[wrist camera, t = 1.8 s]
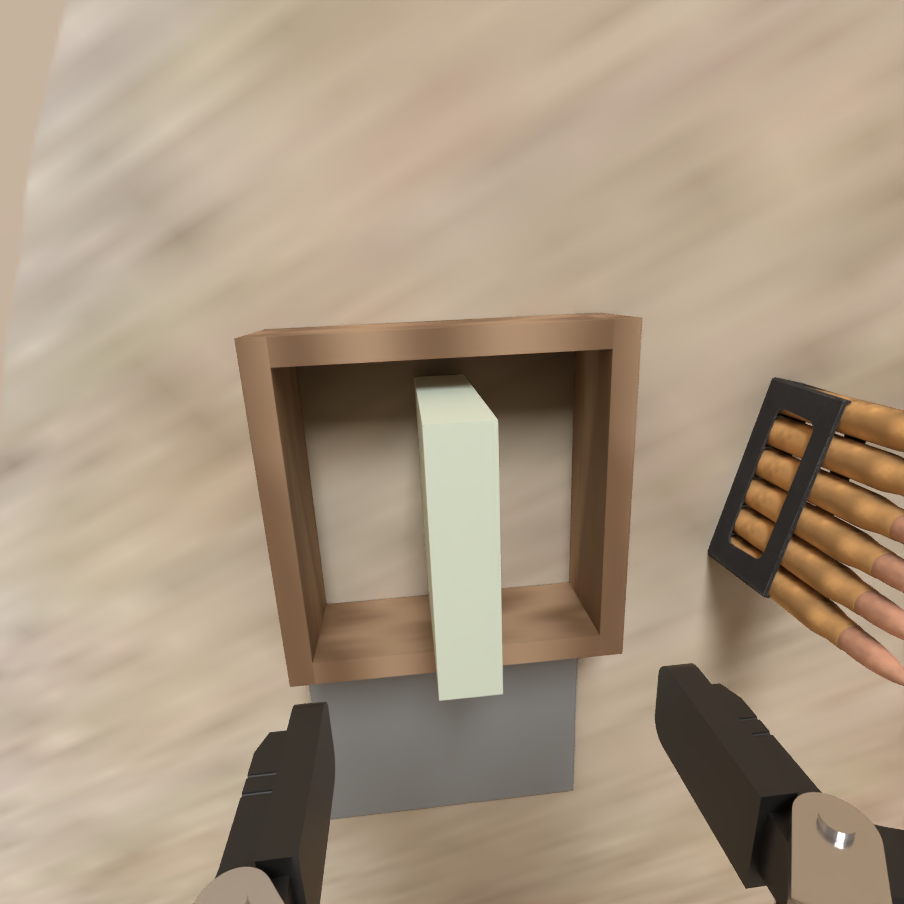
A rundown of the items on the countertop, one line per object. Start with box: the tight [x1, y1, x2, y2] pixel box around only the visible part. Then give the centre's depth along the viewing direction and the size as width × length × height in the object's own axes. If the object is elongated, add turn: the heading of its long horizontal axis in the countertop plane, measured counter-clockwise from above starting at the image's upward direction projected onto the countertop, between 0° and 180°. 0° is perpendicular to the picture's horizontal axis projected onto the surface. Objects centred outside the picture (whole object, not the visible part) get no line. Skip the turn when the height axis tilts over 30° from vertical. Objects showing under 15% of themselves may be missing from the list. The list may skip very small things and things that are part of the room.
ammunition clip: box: [708, 377, 904, 686], centre depth 25 cm, size 11×2×12 cm, turn 168°
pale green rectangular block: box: [414, 374, 503, 701], centre depth 24 cm, size 2×11×10 cm, turn 3°
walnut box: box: [234, 313, 642, 687], centre depth 26 cm, size 16×16×5 cm
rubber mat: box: [309, 658, 577, 819], centre depth 33 cm, size 16×13×1 cm
